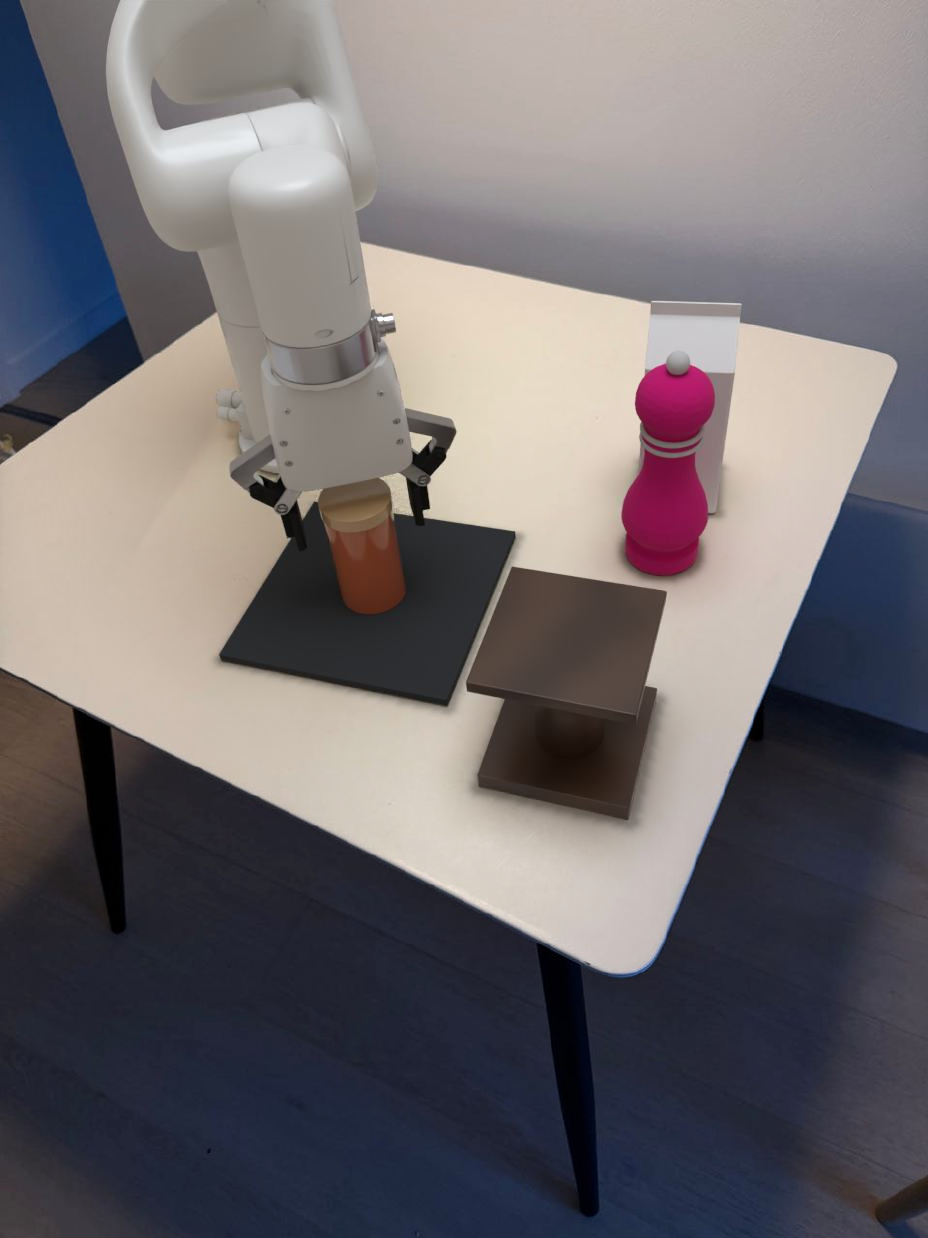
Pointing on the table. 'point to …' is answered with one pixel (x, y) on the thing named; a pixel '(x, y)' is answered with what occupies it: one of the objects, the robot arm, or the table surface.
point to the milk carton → (712, 350)
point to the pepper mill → (668, 468)
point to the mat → (379, 643)
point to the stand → (569, 689)
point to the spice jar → (364, 545)
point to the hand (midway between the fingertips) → (359, 527)
